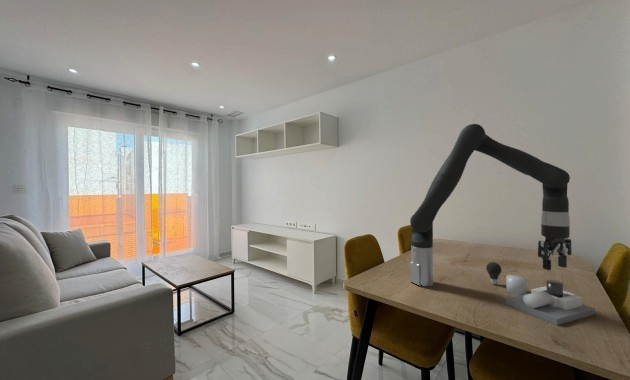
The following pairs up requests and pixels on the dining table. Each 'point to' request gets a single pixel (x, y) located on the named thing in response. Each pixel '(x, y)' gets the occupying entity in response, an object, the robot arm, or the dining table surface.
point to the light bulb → (493, 271)
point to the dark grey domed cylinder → (555, 288)
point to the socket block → (551, 306)
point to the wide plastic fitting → (516, 284)
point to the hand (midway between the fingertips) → (554, 268)
